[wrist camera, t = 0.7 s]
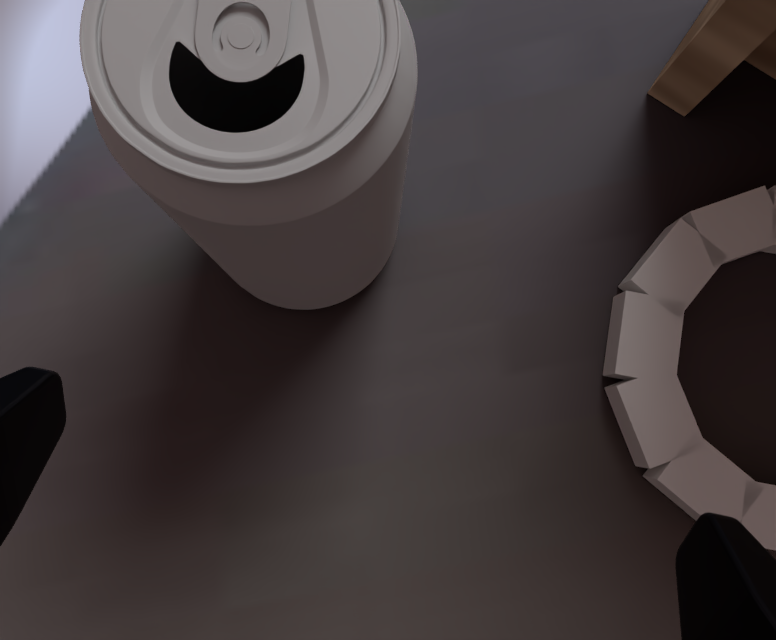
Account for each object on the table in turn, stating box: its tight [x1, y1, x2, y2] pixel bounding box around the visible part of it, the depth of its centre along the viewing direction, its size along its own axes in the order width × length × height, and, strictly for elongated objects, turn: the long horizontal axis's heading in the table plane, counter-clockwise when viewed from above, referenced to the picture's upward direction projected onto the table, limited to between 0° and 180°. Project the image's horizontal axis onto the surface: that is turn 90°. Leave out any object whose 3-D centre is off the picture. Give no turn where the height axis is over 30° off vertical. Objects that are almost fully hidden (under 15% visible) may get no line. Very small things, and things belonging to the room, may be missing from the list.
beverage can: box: [80, 0, 417, 310], centre depth 18 cm, size 6×6×12 cm
